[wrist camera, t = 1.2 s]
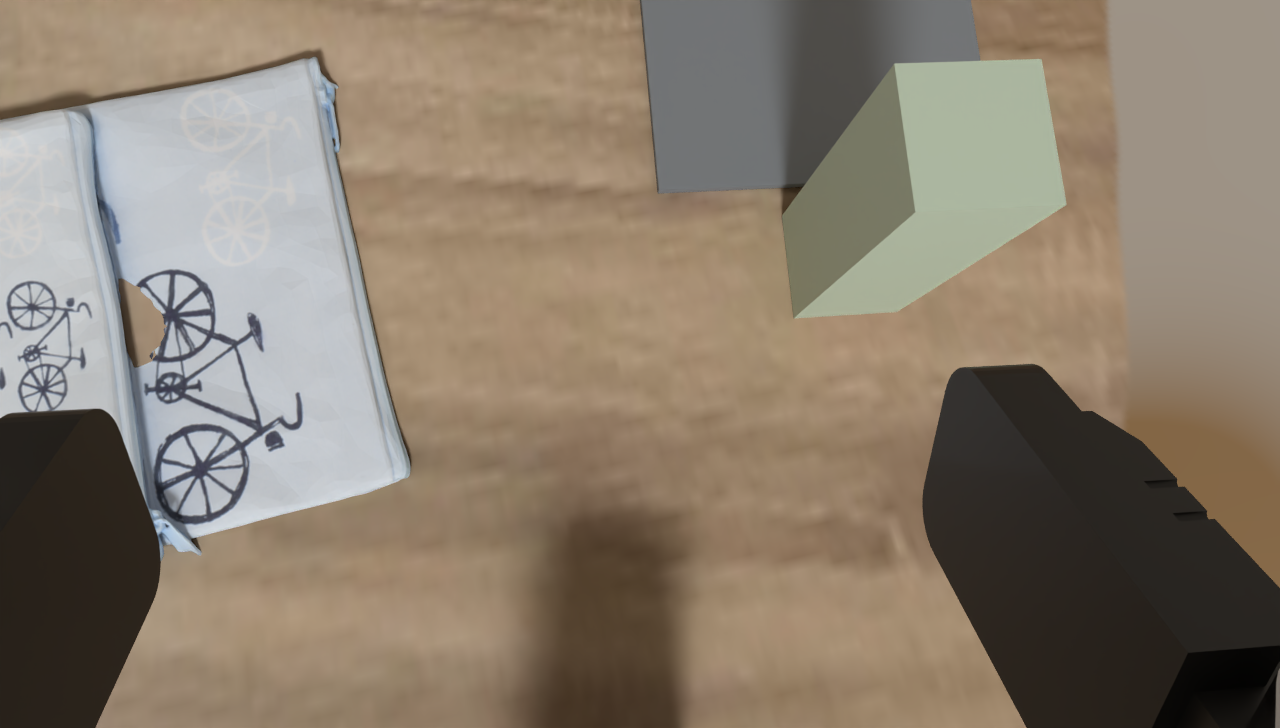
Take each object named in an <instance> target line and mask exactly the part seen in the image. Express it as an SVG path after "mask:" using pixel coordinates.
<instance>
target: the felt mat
mask: <svg viewBox="0 0 1280 728" xmlns="http://www.w3.org/2000/svg"><path fill="white" fill-rule="evenodd" d="M640 5H641V15H642V26H643V37H644V48H645V59H646V70H647V81H648V92H649V102H650V113H651V124H652V135H653V146H654V157H655V168H656V179H657V189H658V193H677V192H699V191H721V190H743V189H765V188H787V187H804V185H805V184H806V182H807V181H808V180H809V178H810V177H811V176H812V174H813V173H814V172H815V170H816V169H817V168H818V166H819V165H820V163H821V162H822V161H823V159H824V158H825V157H826V155H827V154H828V153H829V151H830V150H831V149H832V147H833V146H834V145H835V143H836V142H837V140H838V139H839V138H840V136H841V135H842V134H843V132H844V131H845V130H846V128H847V127H848V126H849V124H850V123H851V121H852V120H853V119H854V117H855V116H856V115H857V113H858V112H859V111H860V109H861V108H862V107H863V105H864V104H865V102H866V101H867V100H868V98H869V97H870V96H871V94H872V93H873V92H874V90H875V89H876V88H877V86H878V85H879V84H880V82H881V81H882V79H883V78H884V77H885V75H886V74H887V73H888V71H889V70H890V69H891V67H892V66H893V65H894V64H895V63H928V62H961V61H980V56H979V49H978V43H977V37H976V31H975V24H974V18H973V12H972V6H971V0H640Z"/></svg>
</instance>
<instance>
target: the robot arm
mask: <svg viewBox="0 0 1280 728" xmlns="http://www.w3.org/2000/svg"><path fill="white" fill-rule="evenodd" d="M923 518H924V524H925V529H926V533H927V537H928V540H929V543H930V546H931V548H932V550H933V552H934V554H935V556H936V558H937V560H938V562H939V564H940V565H941V567H942V569H943V571H944V573H945V575H946V577H947V579H948V580H949V582H950V584H951V586H952V588H953V590H954V592H955V594H956V596H957V597H958V599H959V601H960V603H961V605H962V607H963V609H964V611H965V612H966V614H967V616H968V618H969V620H970V622H971V624H972V626H973V628H974V629H975V631H976V633H977V635H978V637H979V639H980V641H981V643H982V644H983V646H984V648H985V650H986V652H987V654H988V656H989V658H990V660H991V661H992V663H993V665H994V667H995V669H996V671H997V673H998V675H999V676H1000V678H1001V680H1002V682H1003V684H1004V686H1005V688H1006V690H1007V692H1008V693H1009V695H1010V697H1011V699H1012V701H1013V703H1014V705H1015V707H1016V708H1017V710H1018V712H1019V714H1020V716H1021V718H1022V720H1023V722H1024V724H1025V725H1026V727H1027V728H1280V588H1279V587H1278V586H1277V585H1276V584H1275V583H1274V582H1273V580H1272V579H1271V578H1270V577H1269V576H1268V575H1267V574H1266V573H1265V572H1264V571H1263V570H1262V569H1261V568H1260V567H1259V566H1258V565H1257V563H1255V561H1254V560H1253V559H1252V558H1251V557H1250V556H1249V555H1248V554H1247V553H1246V552H1245V551H1244V550H1243V549H1242V548H1241V547H1240V545H1239V544H1238V543H1237V542H1236V541H1235V540H1234V539H1233V538H1232V537H1231V536H1230V535H1229V534H1228V533H1227V532H1226V530H1225V529H1224V528H1223V527H1222V526H1221V525H1220V524H1219V523H1218V522H1217V521H1216V520H1215V519H1210V520H1209V519H1208V518H1207V511H1206V509H1205V508H1204V507H1203V506H1202V505H1201V504H1200V503H1199V502H1198V501H1197V500H1196V499H1195V497H1194V496H1193V495H1192V494H1191V493H1190V492H1189V491H1188V490H1187V489H1186V488H1185V487H1178V485H1177V478H1176V477H1175V476H1174V475H1173V474H1172V473H1171V472H1170V471H1169V470H1168V469H1167V468H1166V467H1165V466H1164V464H1163V463H1162V462H1160V460H1159V459H1158V458H1157V457H1156V456H1155V455H1154V454H1153V453H1152V452H1151V451H1150V450H1149V449H1148V448H1147V446H1145V444H1144V443H1143V442H1142V441H1140V440H1139V439H1137V438H1135V437H1134V436H1132V435H1130V434H1129V433H1127V432H1126V431H1124V430H1122V429H1121V428H1119V427H1117V426H1116V425H1114V424H1113V423H1111V422H1109V421H1108V420H1106V419H1104V418H1103V417H1101V416H1099V415H1098V414H1096V413H1095V412H1093V411H1081V410H1080V409H1079V408H1078V407H1077V405H1076V404H1075V403H1074V402H1073V401H1072V400H1071V399H1070V398H1069V396H1068V395H1067V394H1066V393H1065V392H1064V391H1063V390H1062V389H1061V387H1060V386H1059V385H1058V384H1057V383H1056V382H1055V381H1054V380H1053V378H1052V377H1051V376H1050V375H1049V374H1048V373H1047V372H1046V371H1045V370H1044V369H1043V368H1042V367H1040V366H1038V365H1035V364H1023V365H1003V366H983V367H964V368H959V369H957V370H956V371H955V372H954V373H953V374H952V375H951V377H950V379H949V381H948V384H947V387H946V390H945V395H944V399H943V404H942V408H941V413H940V417H939V422H938V426H937V430H936V435H935V439H934V444H933V448H932V453H931V457H930V462H929V466H928V471H927V475H926V479H925V484H924V490H923ZM160 564H161V559H160V545H159V540H158V535H157V532H156V529H155V526H154V523H153V521H152V518H151V515H150V512H149V510H148V507H147V504H146V501H145V499H144V496H143V493H142V490H141V488H140V485H139V482H138V479H137V477H136V474H135V471H134V468H133V466H132V463H131V460H130V457H129V455H128V452H127V449H126V446H125V444H124V441H123V438H122V435H121V433H120V430H119V428H118V426H117V424H116V422H115V420H114V419H113V417H112V416H111V415H110V414H109V413H108V412H106V411H105V410H102V409H76V410H56V411H36V412H16V413H9V414H6V415H5V416H3V417H1V418H0V728H95V727H96V725H97V723H98V720H99V718H100V716H101V714H102V712H103V710H104V707H105V705H106V703H107V701H108V699H109V696H110V694H111V692H112V690H113V688H114V686H115V683H116V681H117V679H118V677H119V675H120V673H121V670H122V668H123V666H124V664H125V662H126V660H127V657H128V655H129V653H130V651H131V649H132V646H133V644H134V642H135V640H136V638H137V636H138V633H139V631H140V629H141V627H142V625H143V623H144V620H145V618H146V616H147V614H148V612H149V609H150V607H151V605H152V603H153V600H154V598H155V595H156V591H157V588H158V583H159V576H160Z"/></svg>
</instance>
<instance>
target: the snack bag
mask: <svg viewBox="0 0 1280 728" xmlns="http://www.w3.org/2000/svg"><path fill="white" fill-rule="evenodd" d="M335 88H338V86H337V85H336V84H333V83H331V82H329V81H328V80H327V78H326V77H325V76H324V75H323V74H322V73H321V72H320V66H319V62H318V59H317V57H312V58H310V59H305V58H303V59H300V60H296V61H293V62H290V63H287V64H283V65H280V66H276V67H272V68H268V69H264V70H260V71H256V72H251V73H247V74H243V75H239V76H235V77H230V78H226V79H222V80H217V81H212V82H206V83H200V84H195V85H190V86H184V87H179V88H174V89H169V90H163V91H158V92H153V93H147V94H141V95H136V96H130V97H124V98H118V99H111V100H105V101H100V102H95V103H90V104H85V105H81V106H74V107H69V108H65V109H59V110H51V111H43V112H38V113H34V114H29V115H24V116H18V117H13V118H7V119H2V120H0V418H1V417H3V416H5V415H6V414H9V413H16V412H36V411H56V410H76V409H102V410H105V411H106V412H108V413H109V414H110V415H111V416H112V417H113V419H114V420H115V422H116V424H117V426H118V428H119V430H120V433H121V435H122V438H123V441H124V444H125V446H126V449H127V452H128V455H129V457H130V460H131V463H132V466H133V468H134V471H135V474H136V477H137V479H138V482H139V485H140V488H141V490H142V493H143V496H144V499H145V501H146V504H147V507H148V510H149V512H150V515H151V518H152V521H153V523H154V526H155V529H156V532H157V535H158V540H159V545H160V559H161V561H162V558H163V555H164V550H163V546H164V545H170V544H172V545H174V546H175V548H176V549H177V550H178V552H186V551H192V552H195V553H197V555H201V551H200V550H199V549H198V548H197V547H196V546H195V545H194V544H193V542H192V541H191V539H193V538H196V537H200V536H204V535H207V534H211V533H215V532H219V531H222V530H226V529H230V528H234V527H238V526H242V525H245V524H249V523H252V522H256V521H259V520H263V519H267V518H271V517H274V516H278V515H282V514H286V513H289V512H293V511H298V510H302V509H306V508H310V507H314V506H318V505H322V504H326V503H330V502H334V501H338V500H342V499H345V498H349V497H353V496H357V495H361V494H365V493H369V492H371V491H374V490H376V489H379V488H382V487H384V486H387V485H389V484H392V483H395V482H397V481H399V480H401V479H404V478H407V477H408V476H409V475H410V469H411V467H410V461H409V457H408V454H407V451H406V448H405V446H404V443H403V440H402V436H401V433H400V430H399V427H398V423H397V420H396V416H395V413H394V409H393V406H392V402H391V398H390V394H389V391H388V387H387V383H386V379H385V375H384V371H383V367H382V362H381V358H380V353H379V349H378V344H377V340H376V336H375V331H374V327H373V323H372V318H371V314H370V309H369V305H368V300H367V295H366V290H365V285H364V280H363V275H362V270H361V264H360V259H359V255H358V250H357V246H356V241H355V237H354V233H353V229H352V225H351V220H350V216H349V211H348V207H347V202H346V198H345V193H344V189H343V184H342V180H341V176H340V172H339V167H338V163H337V158H336V152H339V149H340V144H339V135H338V129H337V124H336V118H335V112H334V106H333V103H334V100H335ZM333 139H335V142H336V146H334V143H333ZM122 278H123V279H125V280H126V281H128V282H129V283H131V284H133V285H135V286H138V287H141V289H140V291H141V292H142V293H143V294H144V295H145V296H147V297H148V298H150V299H151V300H152V302H153V305H154V307H156V308H157V309H158V310H159V311H161V314H162V315H163V316H164V317H163V318H164V324H165V325H167V327H166V328H165V329H164V332H165V336H164V338H163V340H162V341H161V346H159V347H158V348H156V349H155V353H156V356H155V358H154V359H153V361H152V362H150V363H147V364H145V365H143V366H140V367H135V368H134V366H133V364H132V361H131V358H129V355H128V353H127V348H126V345H125V337H124V329H123V322H122V315H121V309H120V302H121V296H120V293H119V282H118V279H122ZM150 357H151V359H152V357H153V351H152V353H151V355H150Z"/></svg>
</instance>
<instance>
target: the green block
mask: <svg viewBox="0 0 1280 728" xmlns="http://www.w3.org/2000/svg"><path fill="white" fill-rule="evenodd" d="M1065 205H1066V199H1065V193H1064V187H1063V182H1062V176H1061V170H1060V164H1059V158H1058V152H1057V147H1056V141H1055V135H1054V129H1053V123H1052V118H1051V112H1050V106H1049V100H1048V94H1047V89H1046V83H1045V77H1044V71H1043V65H1042V60H1041V59H1027V60H994V61H961V62H928V63H895V64H894V65H893V66H892V67H891V69H890V70H889V71H888V73H887V74H886V75H885V77H884V78H883V79H882V81H881V82H880V84H879V85H878V86H877V88H876V89H875V90H874V92H873V93H872V94H871V96H870V97H869V98H868V100H867V101H866V102H865V104H864V105H863V107H862V108H861V109H860V111H859V112H858V113H857V115H856V116H855V117H854V119H853V120H852V121H851V123H850V124H849V126H848V127H847V128H846V130H845V131H844V132H843V134H842V135H841V136H840V138H839V139H838V140H837V142H836V143H835V145H834V146H833V147H832V149H831V150H830V151H829V153H828V154H827V155H826V157H825V158H824V159H823V161H822V162H821V163H820V165H819V166H818V168H817V169H816V170H815V172H814V173H813V174H812V176H811V177H810V178H809V180H808V181H807V182H806V184H805V185H804V187H803V188H802V189H801V191H800V192H799V193H798V195H797V196H796V197H795V199H794V200H793V201H792V203H791V204H790V206H789V207H788V208H787V210H786V211H785V212H784V214H783V215H782V221H783V230H784V239H785V247H786V256H787V264H788V273H789V282H790V290H791V299H792V308H793V316H794V318H806V317H823V316H839V315H855V314H871V313H888V312H898V311H899V310H901V309H902V308H904V307H905V306H907V305H909V304H910V303H912V302H913V301H915V300H917V299H918V298H920V297H921V296H923V295H924V294H926V293H928V292H929V291H931V290H932V289H934V288H936V287H937V286H939V285H940V284H942V283H943V282H945V281H947V280H948V279H950V278H951V277H953V276H955V275H956V274H958V273H959V272H961V271H962V270H964V269H966V268H967V267H969V266H970V265H972V264H974V263H975V262H977V261H978V260H980V259H981V258H983V257H985V256H986V255H988V254H989V253H991V252H993V251H994V250H996V249H997V248H999V247H1000V246H1002V245H1004V244H1005V243H1007V242H1008V241H1010V240H1012V239H1013V238H1015V237H1016V236H1018V235H1019V234H1021V233H1023V232H1024V231H1026V230H1027V229H1029V228H1031V227H1032V226H1034V225H1035V224H1037V223H1038V222H1040V221H1042V220H1043V219H1045V218H1046V217H1048V216H1050V215H1051V214H1053V213H1054V212H1056V211H1057V210H1059V209H1061V208H1062V207H1064V206H1065Z"/></svg>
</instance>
